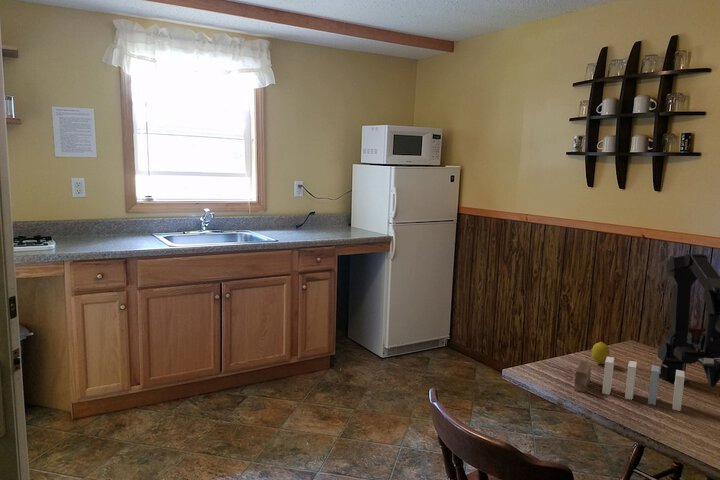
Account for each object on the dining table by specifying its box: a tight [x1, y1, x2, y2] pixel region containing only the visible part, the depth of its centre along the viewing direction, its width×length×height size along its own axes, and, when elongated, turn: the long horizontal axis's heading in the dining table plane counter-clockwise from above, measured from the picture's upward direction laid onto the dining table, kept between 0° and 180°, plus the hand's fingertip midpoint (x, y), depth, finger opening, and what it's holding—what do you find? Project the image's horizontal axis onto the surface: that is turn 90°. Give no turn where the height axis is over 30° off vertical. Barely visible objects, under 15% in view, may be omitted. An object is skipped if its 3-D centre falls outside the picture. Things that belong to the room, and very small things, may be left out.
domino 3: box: [671, 370, 686, 412], centre depth 145 cm, size 2×5×10 cm, turn 148°
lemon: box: [591, 341, 611, 365], centre depth 176 cm, size 6×6×8 cm
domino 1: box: [601, 356, 615, 396], centre depth 155 cm, size 2×5×10 cm, turn 148°
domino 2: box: [624, 360, 638, 401], centre depth 152 cm, size 2×5×10 cm, turn 148°
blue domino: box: [647, 364, 661, 406], centre depth 149 cm, size 2×5×10 cm, turn 149°
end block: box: [573, 360, 592, 393], centre depth 159 cm, size 3×10×6 cm, turn 148°
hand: (711, 386), depth 141 cm, fingers closed
